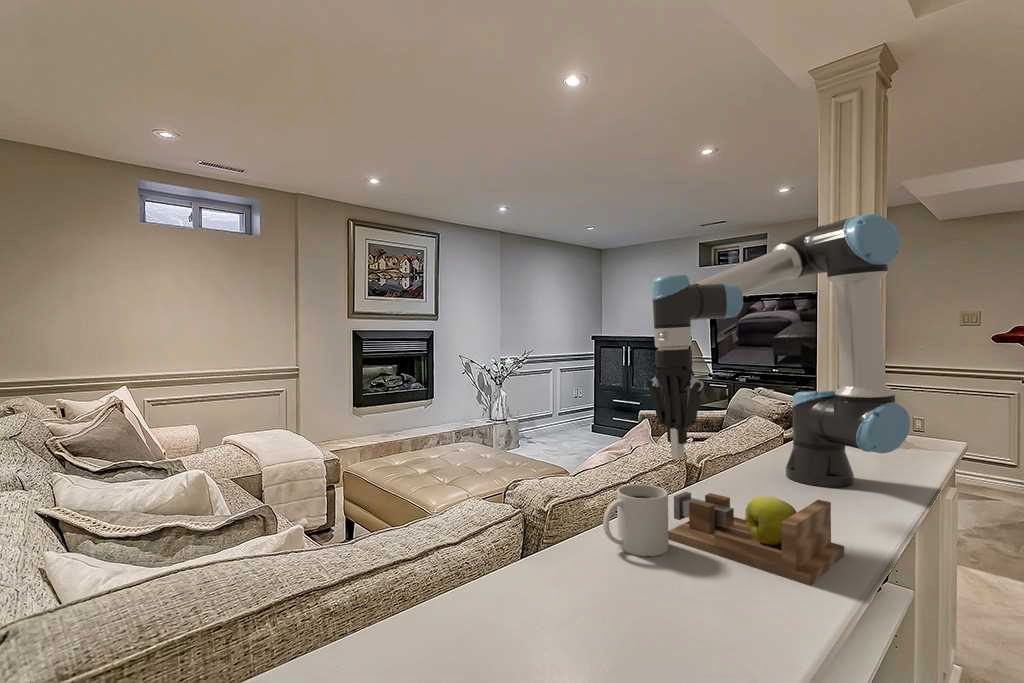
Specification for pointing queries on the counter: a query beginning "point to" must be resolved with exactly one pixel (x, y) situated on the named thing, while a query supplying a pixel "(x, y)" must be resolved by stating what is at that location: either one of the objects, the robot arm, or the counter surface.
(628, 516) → the mug
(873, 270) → the robot arm
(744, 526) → the cradle
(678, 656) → the counter surface
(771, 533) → the apple
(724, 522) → the shaft
